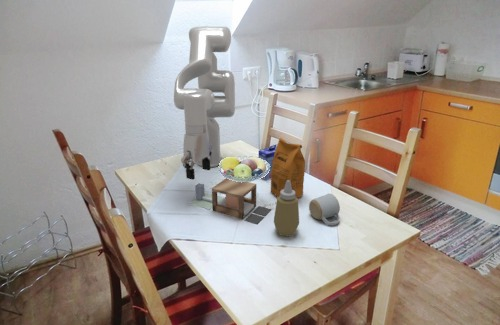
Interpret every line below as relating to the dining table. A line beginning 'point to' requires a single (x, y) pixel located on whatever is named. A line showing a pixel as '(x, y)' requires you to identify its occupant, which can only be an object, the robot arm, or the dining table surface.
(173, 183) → the dining table surface
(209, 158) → the robot arm
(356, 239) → the dining table surface
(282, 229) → the squeeze bottle
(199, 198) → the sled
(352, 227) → the dining table surface
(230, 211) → the tunnel
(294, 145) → the coffee package
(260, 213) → the pit pads
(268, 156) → the ink cartridge box
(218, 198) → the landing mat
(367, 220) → the dining table surface
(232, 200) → the block
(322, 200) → the ceramic mug
